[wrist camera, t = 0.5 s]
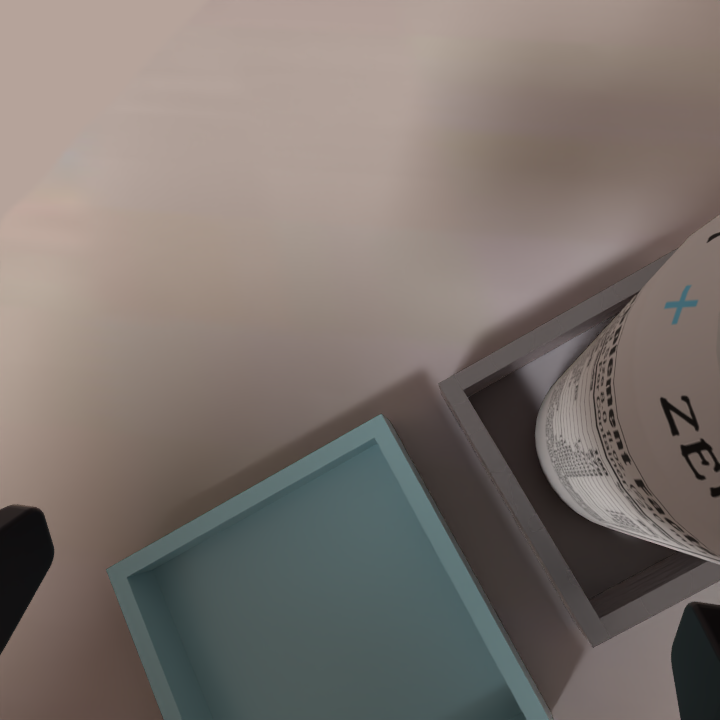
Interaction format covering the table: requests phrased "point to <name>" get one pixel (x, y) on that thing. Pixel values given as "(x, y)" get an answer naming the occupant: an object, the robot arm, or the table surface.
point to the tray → (323, 602)
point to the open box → (591, 616)
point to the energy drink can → (647, 411)
